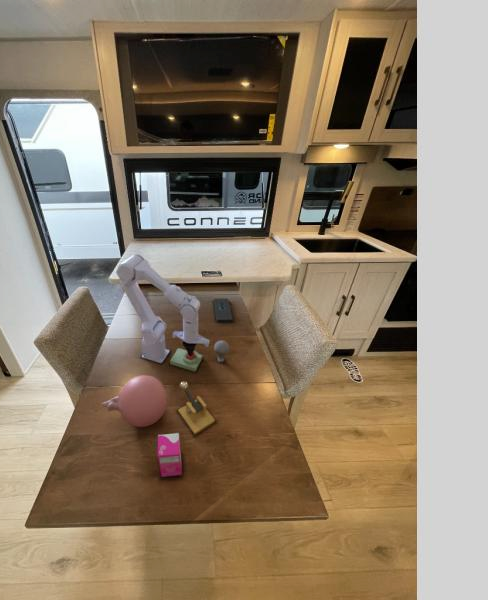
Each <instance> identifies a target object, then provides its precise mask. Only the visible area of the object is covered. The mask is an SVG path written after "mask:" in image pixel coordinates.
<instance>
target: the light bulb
mask: <svg viewBox="0 0 488 600" xmlns="http://www.w3.org/2000/svg"><path fill="white" fill-rule="evenodd" d="M213 349H214V353H215V354H216V356H217V361H218V362H219V363H223V362H225V357H226V355H227V354H228V353H229V352H230V345H229V343H228V342H227V341H225V340H217V341H216V342H215V344H214V347H213Z"/></svg>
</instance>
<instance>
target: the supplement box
mask: <svg viewBox="0 0 488 600" xmlns="http://www.w3.org/2000/svg"><path fill="white" fill-rule="evenodd" d="M180 443H181V442H180V433H179V432H175V433H167V434H158V435H157V459H158V465H159V471H160V477H161V478H167V477H168V478H169V477H177V476H182V475H183V469H182V467H183V466H182V455H181V454H182V453H181V444H180Z"/></svg>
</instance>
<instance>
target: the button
mask: <svg viewBox="0 0 488 600" xmlns="http://www.w3.org/2000/svg"><path fill="white" fill-rule="evenodd" d="M186 358H187V359H189V360H192V359H195V353H194V352H193V355H192V356H189V355H188V353H187V354H186Z"/></svg>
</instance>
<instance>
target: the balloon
mask: <svg viewBox="0 0 488 600" xmlns="http://www.w3.org/2000/svg"><path fill="white" fill-rule="evenodd" d="M163 384H164V383H162V382H161V381H160V380H159V379H158V378H156V377H154V376H151V375H145V374H144V375H143V374H142V375H137V376H134V377H132V378H131V379H129V380H128V381H127V382H126V383H125V384H124V385H123V387H122V388H121V390H120V391H119V392H118V394H117V396H114V397H112V398H110V399H109V400H106V401H105V402H104V401H103V402H102V403H101V405H102V407H106V411H109V412H111V411H117V412H118V413H120V415H121V417H122V419H123V420H124V421H125V422H127V423H128V424H129V425H131V426H134V427H137V428H144V427H148V426H151V425H153V424H155V423H156V422H158V421H159V420H160V419H161V418H162V417H163V415H164V414H165V411H166V409H167V405H168V393H167V390H166V387H165V386H164V385H163Z"/></svg>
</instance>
